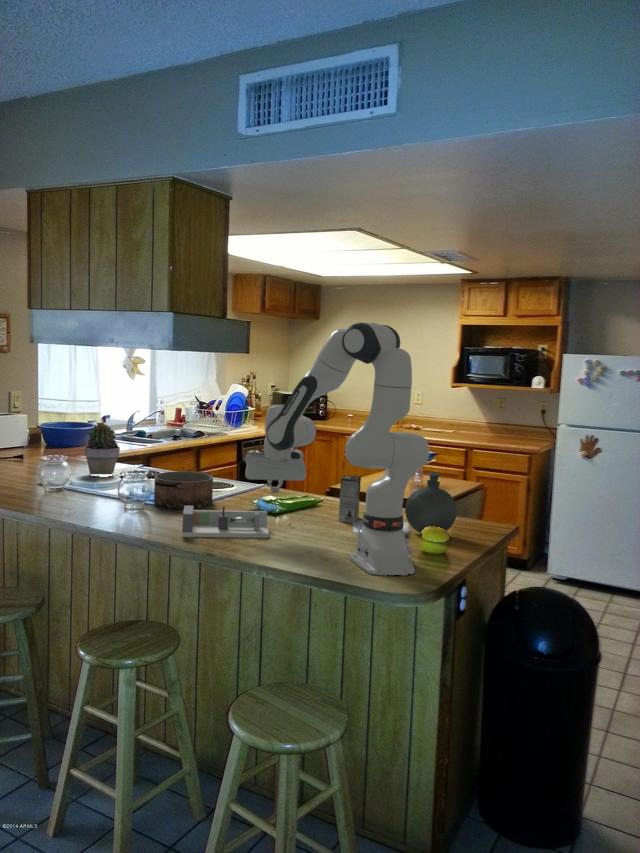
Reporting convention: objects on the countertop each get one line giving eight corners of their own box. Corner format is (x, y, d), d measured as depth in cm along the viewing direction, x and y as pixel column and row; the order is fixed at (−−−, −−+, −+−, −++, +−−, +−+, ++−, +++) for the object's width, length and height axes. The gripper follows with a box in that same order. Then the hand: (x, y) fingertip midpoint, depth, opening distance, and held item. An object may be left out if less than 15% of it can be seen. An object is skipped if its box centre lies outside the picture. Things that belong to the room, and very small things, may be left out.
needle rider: (227, 528, 228) (228, 507, 227) (218, 528, 228) (219, 507, 227) (227, 525, 233) (228, 504, 232) (218, 524, 233) (219, 504, 232)
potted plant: (113, 470, 330) (114, 418, 328) (127, 477, 315) (129, 423, 312) (75, 472, 320) (75, 419, 317) (87, 480, 304) (88, 424, 302)
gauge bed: (268, 537, 227) (270, 515, 226) (182, 536, 223) (183, 514, 222) (266, 528, 239) (267, 507, 238) (183, 527, 234) (184, 505, 234)
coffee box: (342, 515, 264) (344, 474, 262) (358, 517, 262) (361, 475, 261) (338, 521, 255) (340, 478, 253) (355, 523, 254) (357, 480, 252)
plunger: (258, 529, 229) (259, 514, 229) (229, 529, 228) (230, 514, 227) (257, 525, 235) (258, 510, 235) (229, 524, 234) (230, 510, 233)
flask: (446, 542, 234) (451, 478, 231) (400, 533, 242) (404, 471, 240) (458, 535, 244) (462, 474, 241) (413, 527, 252) (417, 467, 250)
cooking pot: (186, 514, 253) (187, 485, 252) (135, 506, 261) (136, 478, 260) (227, 500, 280) (228, 474, 279) (180, 493, 289) (181, 468, 288)
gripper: (245, 452, 226) (244, 494, 227) (307, 454, 229) (305, 495, 231) (245, 449, 232) (243, 489, 234) (305, 451, 235) (303, 491, 237)
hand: (274, 492), depth 232 cm, fingers closed
